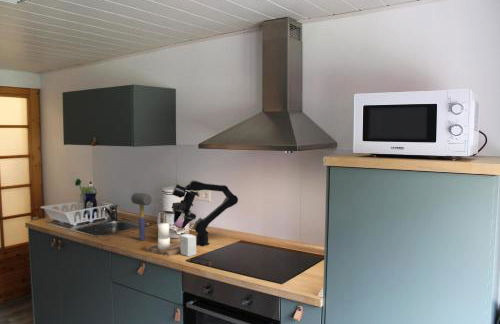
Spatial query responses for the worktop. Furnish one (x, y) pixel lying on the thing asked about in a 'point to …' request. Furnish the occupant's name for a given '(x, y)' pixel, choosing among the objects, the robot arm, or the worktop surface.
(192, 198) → the robot arm
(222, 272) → the worktop surface
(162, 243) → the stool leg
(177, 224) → the cupcake
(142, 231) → the rubber mallet
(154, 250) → the socket board
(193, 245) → the small box
